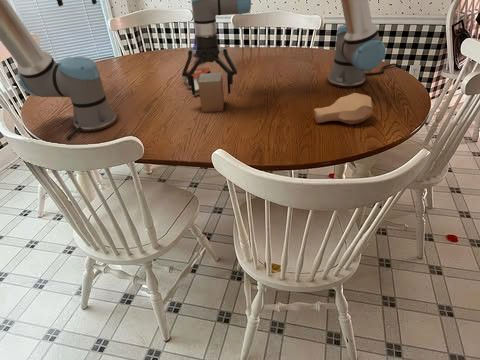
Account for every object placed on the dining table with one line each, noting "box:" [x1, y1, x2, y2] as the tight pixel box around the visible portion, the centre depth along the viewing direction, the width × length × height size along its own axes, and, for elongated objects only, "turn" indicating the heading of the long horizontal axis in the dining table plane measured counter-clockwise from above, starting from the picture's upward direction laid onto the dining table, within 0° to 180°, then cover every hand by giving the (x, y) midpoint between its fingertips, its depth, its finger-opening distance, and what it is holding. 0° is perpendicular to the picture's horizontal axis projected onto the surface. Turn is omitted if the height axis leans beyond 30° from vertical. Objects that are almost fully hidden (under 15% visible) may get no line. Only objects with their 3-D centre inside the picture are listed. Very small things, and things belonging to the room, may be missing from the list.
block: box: [198, 72, 225, 113], centre depth 136 cm, size 8×9×12 cm
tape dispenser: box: [180, 66, 212, 96], centre depth 156 cm, size 18×5×20 cm
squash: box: [313, 92, 374, 125], centre depth 122 cm, size 11×20×9 cm, turn 92°
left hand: (78, 4), depth 140 cm, fingers open, 13 cm apart
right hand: (211, 93), depth 136 cm, fingers open, 13 cm apart
